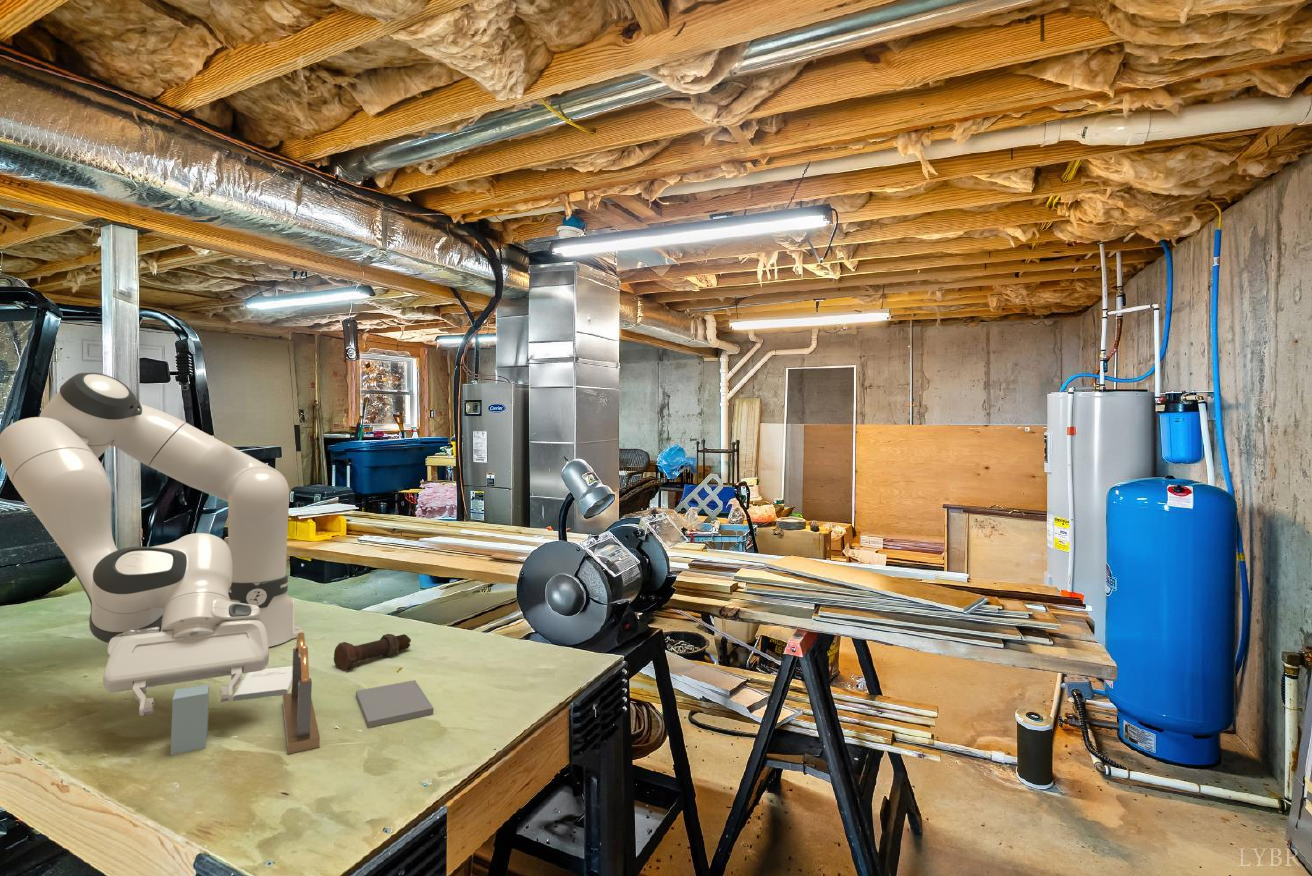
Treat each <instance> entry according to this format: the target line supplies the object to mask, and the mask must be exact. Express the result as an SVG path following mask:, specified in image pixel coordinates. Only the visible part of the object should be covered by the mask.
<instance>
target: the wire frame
mask: <svg viewBox="0 0 1312 876" xmlns="http://www.w3.org/2000/svg"><path fill="white" fill-rule="evenodd" d="M291 666H292V684H291V692H288V694H284V695H282V710H283V719H284V720H283V721H284V730H285V739H286V741H285V742H286V749H287V755H290V754H295V753H300V752H304V751H308V750H309V751H310V750H313V749H317V748H320V743H321V740H320V739H321V737H320V732H319V727H318V722H317V717H316V714H315V713H316V712H315V708H314V704H313V700H312V684H313V683H312V682H313V680H312V678H311V677H310V669H309V667H310V664H309V648H308V645H307V646H306V638H305V632H304V631H303V632H300V633H298V635H297V637H296V643H295V648H292V665H291Z"/></svg>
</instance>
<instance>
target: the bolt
mask: <svg viewBox="0 0 1312 876" xmlns="http://www.w3.org/2000/svg"><path fill="white" fill-rule="evenodd" d="M411 640H412V639H411V638H410V637H409V636H408V635H407V634H405V633H404V634H400V635H395V634H392V633H387V634H383V635H382V636H381V638H380V639H378V640H374V641H369V642H366V643H362V644H357V645H354V644H352V643H349V642H347V641H343V642H339V643H338V644H337V645H336V647H335V649H334V651H333V652H334V653H333V663H334V665H335V667H336V668H337V669H338V670H340V671H343V672H348V671H351V670H353V668H354V665H355V664H356V663H358V662H362V661H365V660H369V659H373V658H378V657H381V656H382V657H384V658H392V657H395V656H396V655H397V653H398V652H399V651H404V650H407V649H410V646H411V642H412V641H411Z"/></svg>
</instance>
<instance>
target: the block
mask: <svg viewBox="0 0 1312 876" xmlns="http://www.w3.org/2000/svg"><path fill="white" fill-rule="evenodd" d="M209 697H210V684H209V683H208V684H202V685H201V684H200V685H195V686H188V687H183V688H177V689H175V691H174V694H173V697H172V709H171V710H172V711H171V735H170V737H171V739H170V756H174V755H175V756H176V755H179V754H185V753H190V752H193V751H194V752H195V751H200V750H203V749H205V750H206V749H207V740H208V730H209V729H208V728H209V706H210V705H209V700H210V698H209Z"/></svg>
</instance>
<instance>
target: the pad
mask: <svg viewBox="0 0 1312 876" xmlns="http://www.w3.org/2000/svg"><path fill="white" fill-rule="evenodd" d="M355 698H356V701H357V704H358V706H359V708H360V710H361V714H362V716H363V719H364V721H365V723H366V727H367V728H368V729H369V728H375V727H379V726H382V725H387V724H394V723H397V722H402V721H403V722H404V721H407V720H411V719H416V718H417V719H418V718H420V717H421V718H422V717H425V716H430V715H434V706H433V705H432V704H431V702H430V701H429V699H428V697H427V695H426V694H425V693H424V692H423V690H422V689H421V687H420V685H419V684H418V682H417V681H416V680H415V679H414V680H413V679H412V680H409V681H402V682H396V683H391V684H386V685H380V686H374V687H369V688H364V689H358V690H355Z"/></svg>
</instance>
